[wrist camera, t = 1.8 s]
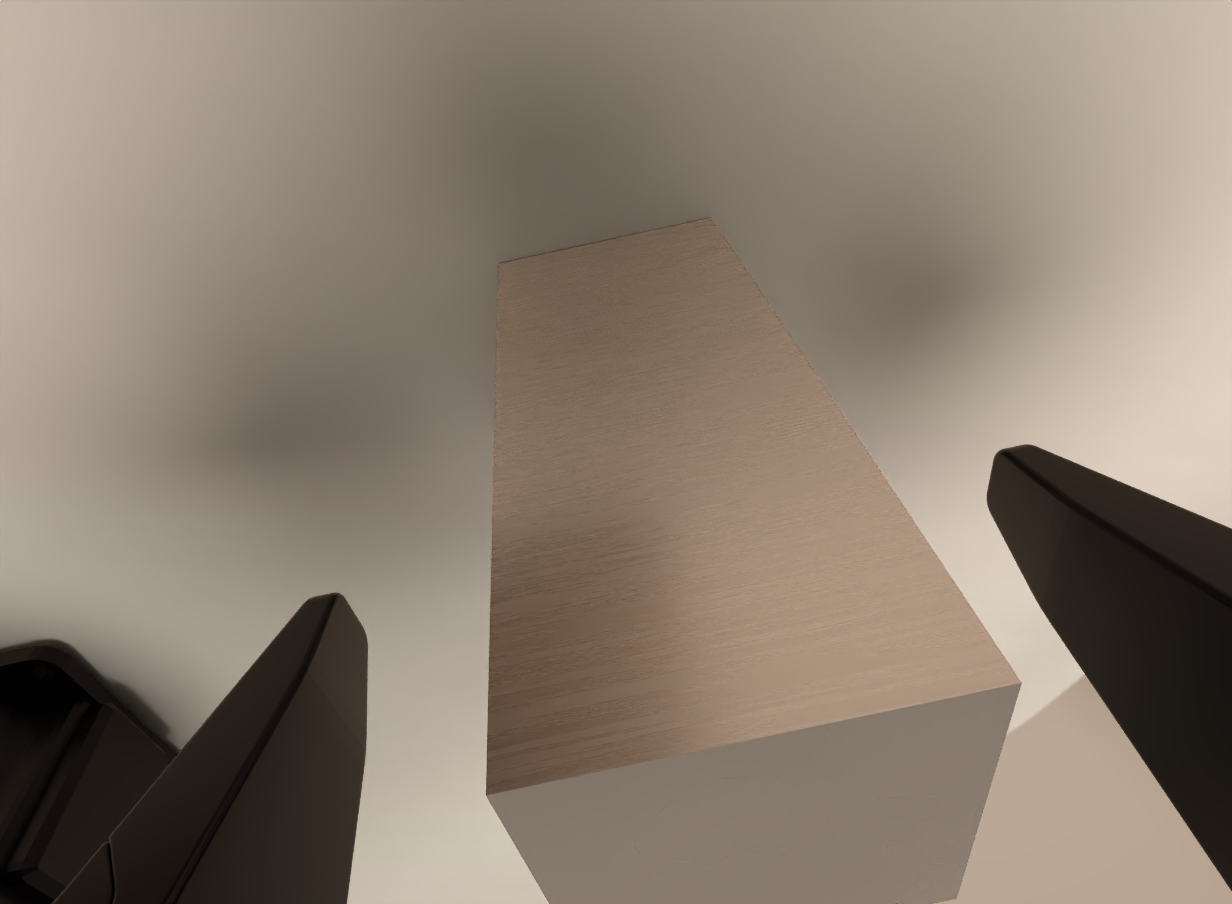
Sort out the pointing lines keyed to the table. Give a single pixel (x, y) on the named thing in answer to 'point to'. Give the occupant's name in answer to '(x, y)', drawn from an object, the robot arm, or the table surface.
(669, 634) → the steel peg
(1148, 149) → the table surface
